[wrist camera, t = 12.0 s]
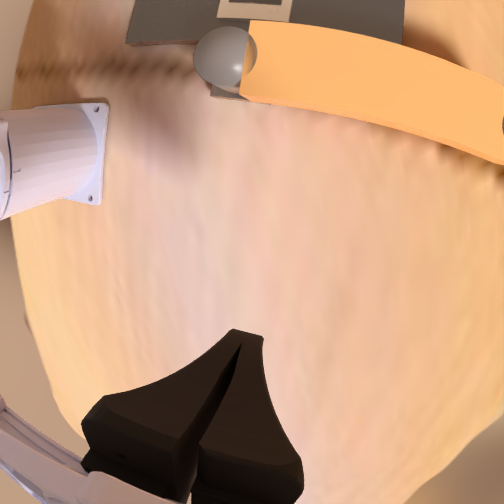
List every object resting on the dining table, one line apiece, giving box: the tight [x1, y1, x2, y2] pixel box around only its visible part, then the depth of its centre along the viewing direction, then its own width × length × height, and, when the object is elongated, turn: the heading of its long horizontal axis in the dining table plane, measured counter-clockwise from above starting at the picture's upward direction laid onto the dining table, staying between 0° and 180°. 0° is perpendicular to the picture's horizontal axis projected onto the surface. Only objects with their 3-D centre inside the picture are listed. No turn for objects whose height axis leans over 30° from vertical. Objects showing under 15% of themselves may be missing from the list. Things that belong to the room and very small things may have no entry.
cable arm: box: [193, 20, 504, 165], centre depth 13 cm, size 18×4×3 cm, turn 83°
